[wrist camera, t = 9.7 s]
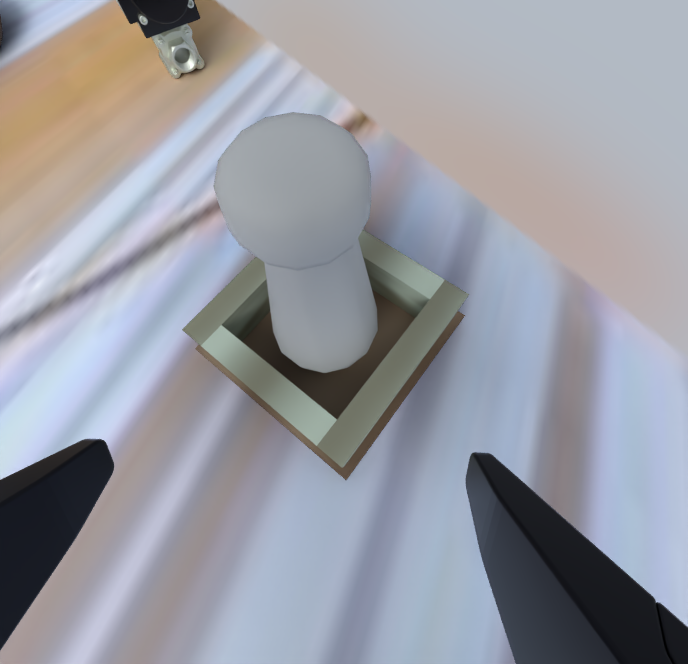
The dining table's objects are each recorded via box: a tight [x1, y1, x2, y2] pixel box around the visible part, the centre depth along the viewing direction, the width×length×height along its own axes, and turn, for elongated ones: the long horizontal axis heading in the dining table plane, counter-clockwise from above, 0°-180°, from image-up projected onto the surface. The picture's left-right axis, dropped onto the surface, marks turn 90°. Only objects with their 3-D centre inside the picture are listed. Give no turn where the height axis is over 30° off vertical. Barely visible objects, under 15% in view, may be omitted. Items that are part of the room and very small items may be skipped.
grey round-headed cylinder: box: [214, 112, 378, 373], centre depth 14 cm, size 6×6×13 cm
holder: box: [182, 230, 469, 480], centre depth 19 cm, size 12×12×4 cm
